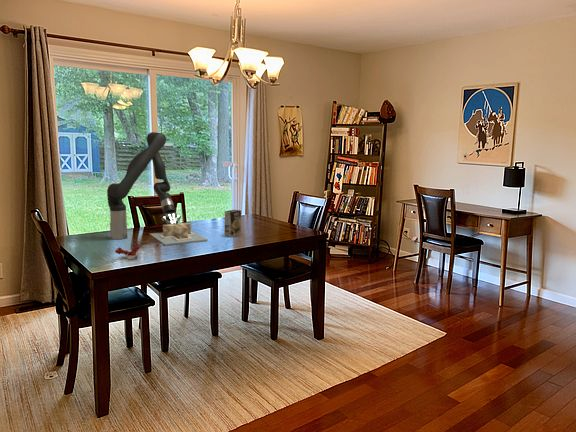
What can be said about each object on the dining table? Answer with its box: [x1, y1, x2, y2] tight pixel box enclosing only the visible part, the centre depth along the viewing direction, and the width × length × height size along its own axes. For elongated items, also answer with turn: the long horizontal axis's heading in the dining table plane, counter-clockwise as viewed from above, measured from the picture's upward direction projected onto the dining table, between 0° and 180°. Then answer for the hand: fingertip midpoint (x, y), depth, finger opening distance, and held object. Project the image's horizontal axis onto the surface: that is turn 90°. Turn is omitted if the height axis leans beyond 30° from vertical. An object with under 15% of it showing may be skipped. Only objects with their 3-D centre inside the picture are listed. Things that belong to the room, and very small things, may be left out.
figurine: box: [114, 243, 143, 260], centre depth 232 cm, size 15×12×7 cm
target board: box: [150, 230, 209, 247], centre depth 278 cm, size 26×32×2 cm
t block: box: [162, 222, 192, 239], centre depth 276 cm, size 16×15×7 cm
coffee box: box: [224, 209, 242, 238], centre depth 287 cm, size 9×6×16 cm
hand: (174, 229), depth 283 cm, fingers closed
